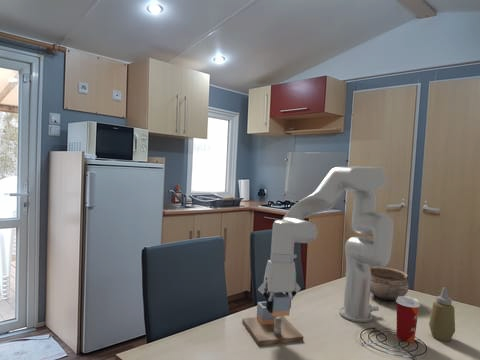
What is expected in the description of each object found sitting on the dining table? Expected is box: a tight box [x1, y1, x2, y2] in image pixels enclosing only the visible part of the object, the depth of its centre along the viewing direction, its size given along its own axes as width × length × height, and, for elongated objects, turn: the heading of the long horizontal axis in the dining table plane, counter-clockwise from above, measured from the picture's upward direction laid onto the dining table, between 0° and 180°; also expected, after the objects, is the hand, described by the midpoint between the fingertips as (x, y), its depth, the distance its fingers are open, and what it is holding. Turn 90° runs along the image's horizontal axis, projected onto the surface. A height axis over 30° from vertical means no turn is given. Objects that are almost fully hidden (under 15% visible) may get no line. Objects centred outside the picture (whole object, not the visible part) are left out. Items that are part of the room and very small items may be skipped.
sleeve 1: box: [256, 300, 277, 325], centre depth 125 cm, size 6×6×6 cm
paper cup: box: [395, 295, 421, 344], centre depth 121 cm, size 8×8×14 cm
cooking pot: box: [369, 266, 410, 302], centre depth 160 cm, size 25×19×12 cm
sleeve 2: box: [271, 292, 291, 317], centre depth 116 cm, size 6×6×6 cm
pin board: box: [241, 306, 304, 346], centre depth 121 cm, size 16×17×6 cm
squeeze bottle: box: [428, 287, 456, 342], centre depth 123 cm, size 8×8×18 cm
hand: (278, 310), depth 116 cm, fingers closed on sleeve 2, 5 cm apart
